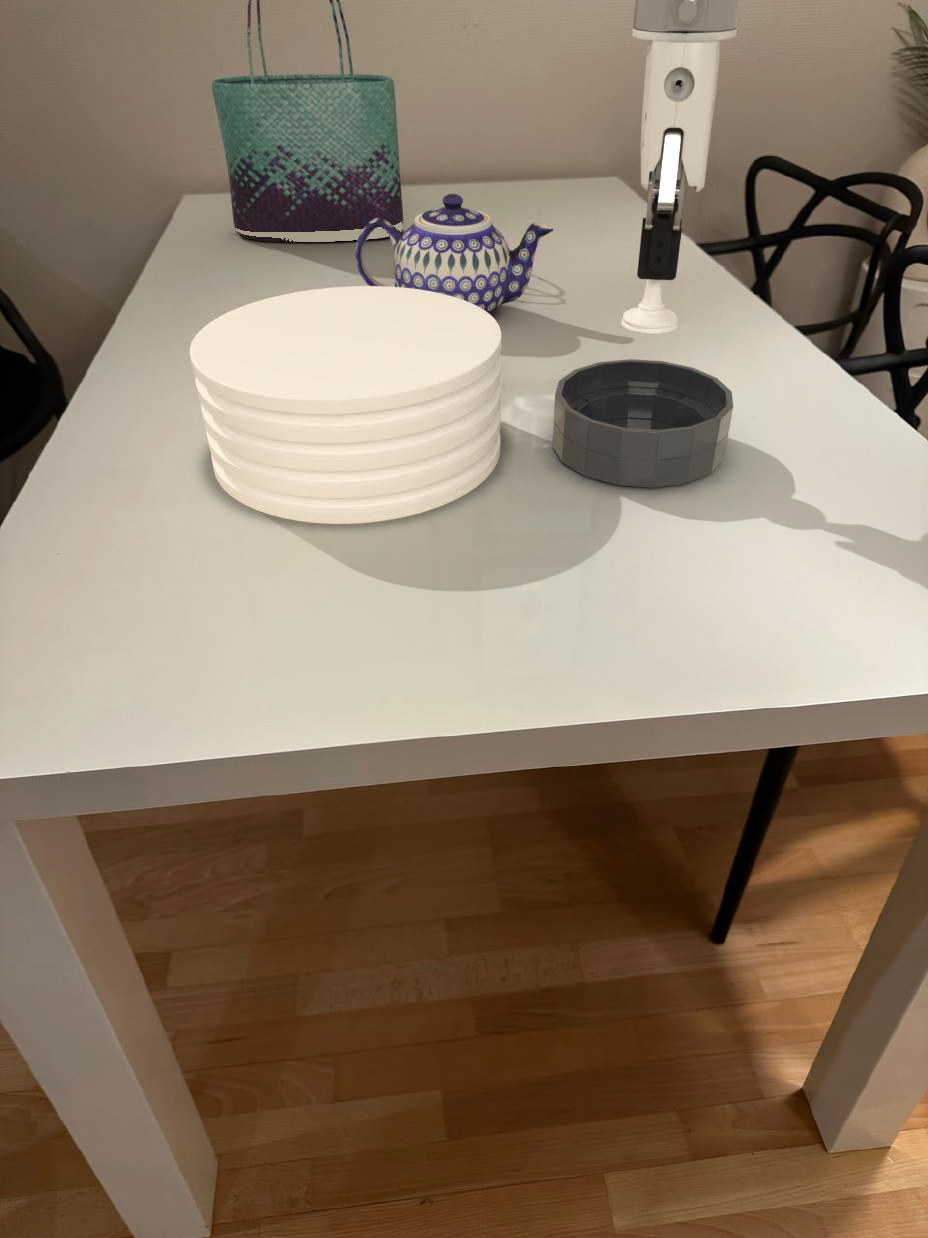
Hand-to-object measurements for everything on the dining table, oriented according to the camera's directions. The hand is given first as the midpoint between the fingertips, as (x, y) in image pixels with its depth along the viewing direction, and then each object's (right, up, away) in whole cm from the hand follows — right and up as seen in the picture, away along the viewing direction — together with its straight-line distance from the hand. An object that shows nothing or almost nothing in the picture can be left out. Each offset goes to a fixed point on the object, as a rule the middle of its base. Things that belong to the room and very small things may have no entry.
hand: (656, 271), depth 76 cm
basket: (-41, +35, +74) cm, 91 cm away
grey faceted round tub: (0, -13, +11) cm, 17 cm away
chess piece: (0, -4, +3) cm, 5 cm away
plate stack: (-27, -13, +12) cm, 32 cm away
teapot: (-18, +10, +42) cm, 47 cm away
